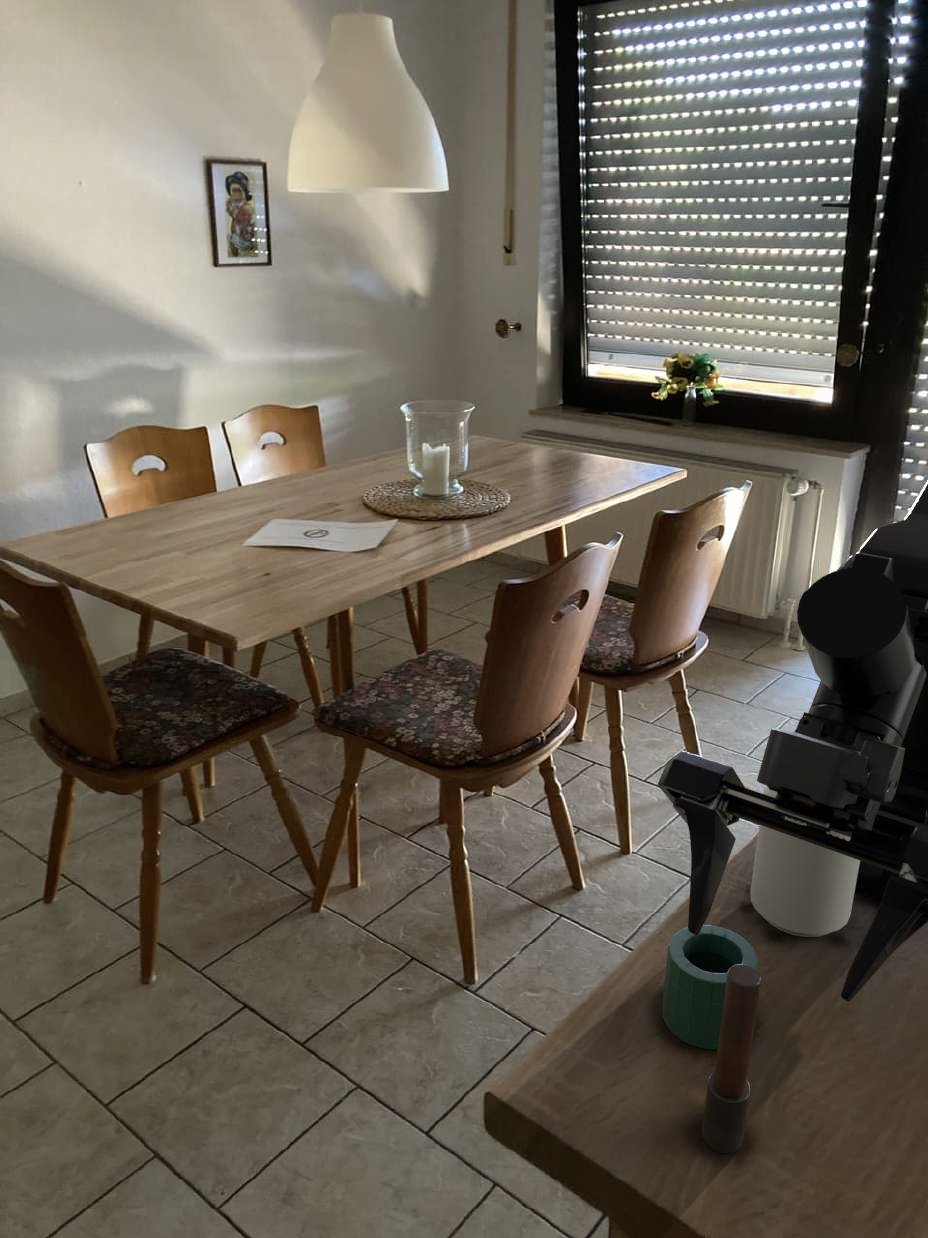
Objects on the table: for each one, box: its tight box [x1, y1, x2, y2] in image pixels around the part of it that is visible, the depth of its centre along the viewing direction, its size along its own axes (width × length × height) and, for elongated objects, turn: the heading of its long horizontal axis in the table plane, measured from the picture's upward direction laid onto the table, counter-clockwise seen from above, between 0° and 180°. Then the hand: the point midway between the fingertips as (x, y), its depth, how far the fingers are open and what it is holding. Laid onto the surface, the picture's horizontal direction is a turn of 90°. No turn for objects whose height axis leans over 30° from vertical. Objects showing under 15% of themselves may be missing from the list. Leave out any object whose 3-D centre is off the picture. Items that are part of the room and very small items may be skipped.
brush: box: [701, 964, 762, 1154], centre depth 59 cm, size 2×2×12 cm
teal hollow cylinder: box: [661, 924, 759, 1051], centre depth 69 cm, size 6×6×6 cm
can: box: [749, 785, 860, 938], centre depth 78 cm, size 8×8×12 cm
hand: (765, 965), depth 60 cm, fingers open, 9 cm apart
